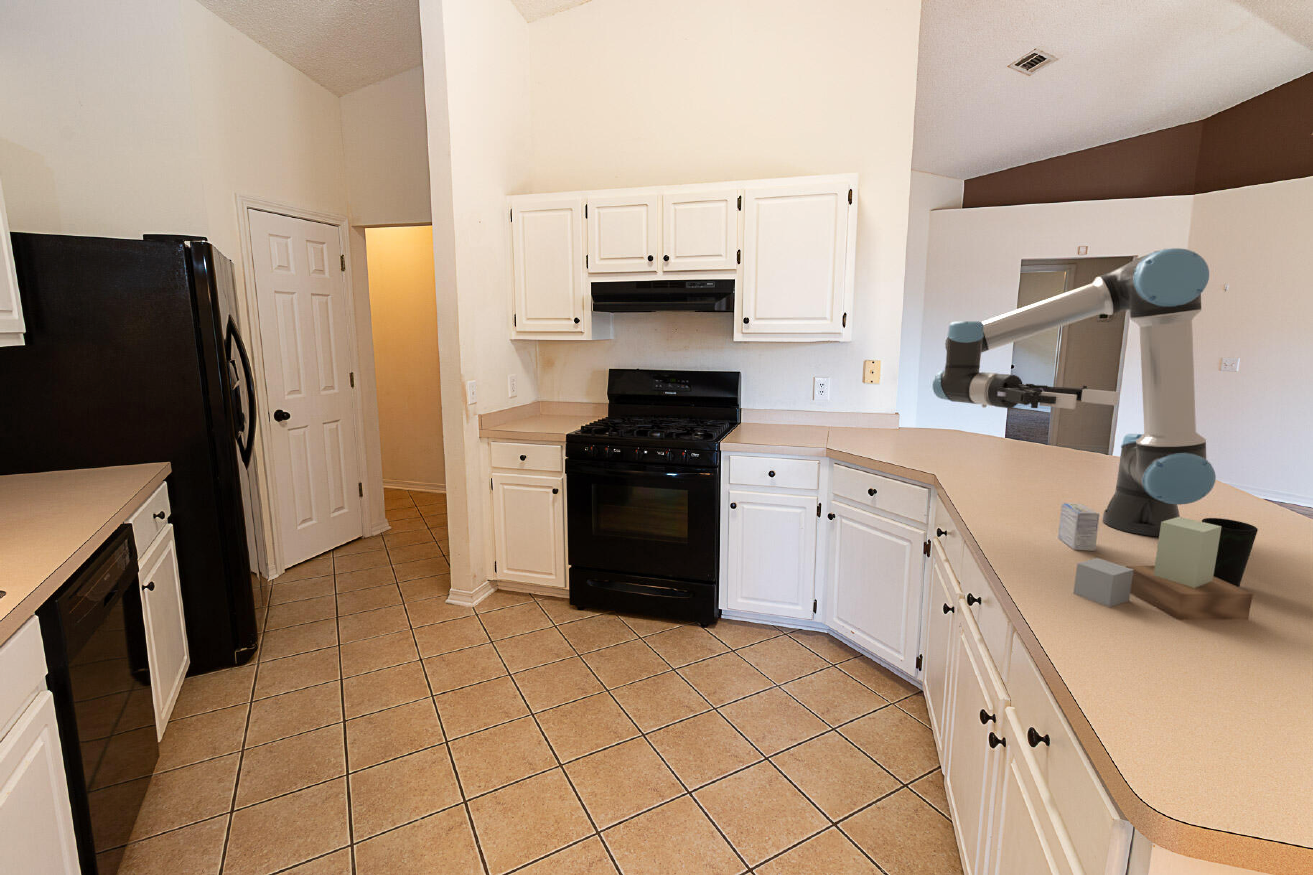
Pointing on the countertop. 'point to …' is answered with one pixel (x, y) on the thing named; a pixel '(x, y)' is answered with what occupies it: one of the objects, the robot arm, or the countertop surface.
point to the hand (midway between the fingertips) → (1096, 400)
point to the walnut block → (1190, 597)
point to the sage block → (1187, 551)
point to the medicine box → (1078, 526)
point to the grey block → (1103, 582)
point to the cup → (1232, 549)
